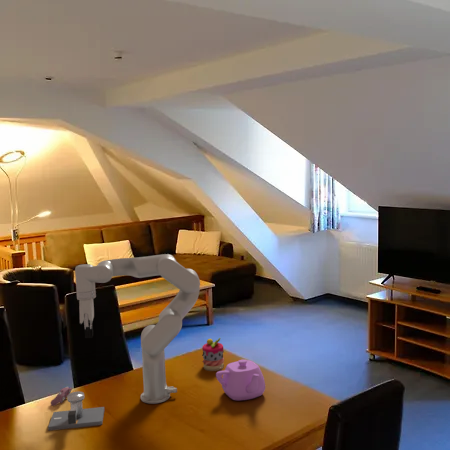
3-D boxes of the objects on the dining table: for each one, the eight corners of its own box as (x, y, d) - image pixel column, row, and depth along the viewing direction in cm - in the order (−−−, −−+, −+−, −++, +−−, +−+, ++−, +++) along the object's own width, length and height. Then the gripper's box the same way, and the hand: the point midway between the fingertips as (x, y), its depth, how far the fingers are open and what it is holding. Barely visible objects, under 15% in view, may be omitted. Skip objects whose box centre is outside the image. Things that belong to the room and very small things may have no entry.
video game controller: (58, 410, 213) (64, 396, 211) (48, 405, 213) (54, 391, 212) (69, 399, 222) (75, 386, 221) (60, 394, 223) (66, 381, 222)
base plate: (104, 410, 208) (104, 406, 208) (102, 424, 196) (101, 420, 196) (53, 415, 205) (53, 411, 205) (48, 430, 193) (48, 426, 193)
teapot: (210, 392, 221) (208, 359, 220) (253, 382, 229) (252, 350, 228) (230, 415, 200) (229, 378, 199) (277, 403, 209) (276, 368, 207)
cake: (200, 371, 245) (199, 341, 243) (205, 362, 255) (204, 333, 253) (222, 371, 243) (221, 341, 241) (225, 363, 253) (224, 334, 252)
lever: (69, 412, 203) (68, 392, 202) (86, 411, 204) (84, 390, 203) (63, 434, 186) (62, 412, 185) (81, 432, 187) (80, 410, 186)
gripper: (79, 290, 215) (82, 332, 217) (74, 299, 201) (77, 344, 203) (97, 289, 216) (99, 331, 219) (93, 298, 202) (96, 342, 204)
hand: (89, 337), depth 211 cm, fingers closed
